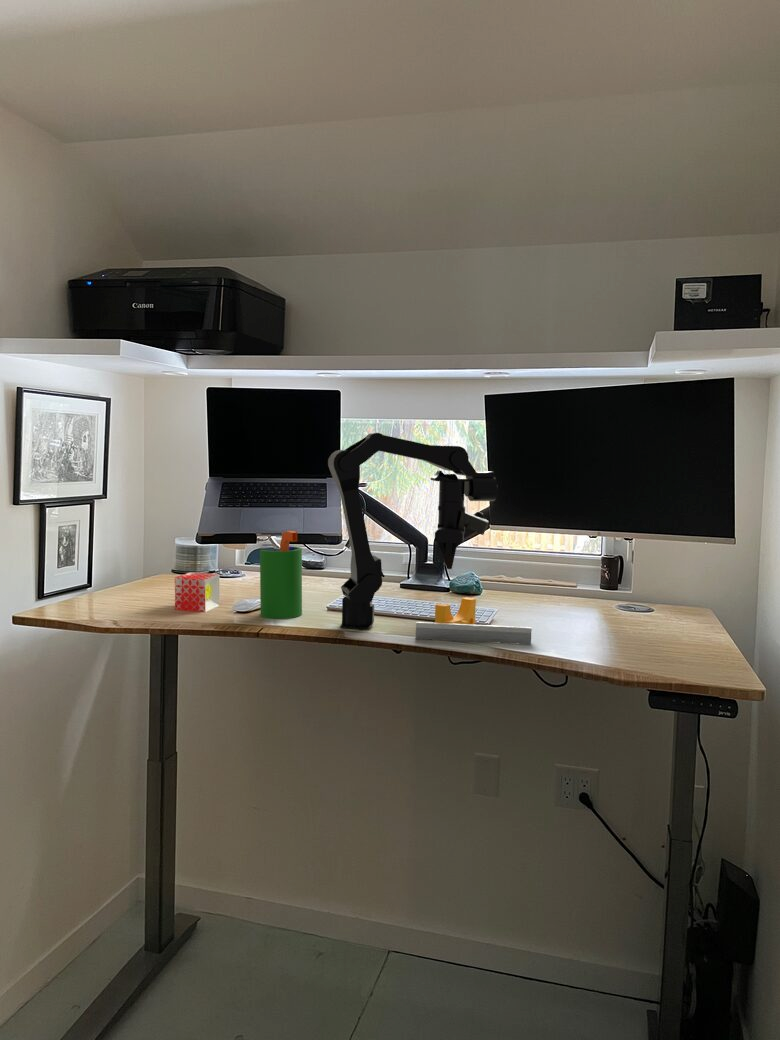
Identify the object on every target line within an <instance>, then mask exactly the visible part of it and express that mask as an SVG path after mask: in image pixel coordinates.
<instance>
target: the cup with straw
mask: <svg viewBox="0 0 780 1040" xmlns="http://www.w3.org/2000/svg"><path fill="white" fill-rule="evenodd" d="M291 542H298V532H297V531H294V530H287V531H284V532H283V533H282V535H281V539H280V546H279V550H265V549H259V572H260V573H259V574H260V575H259V578H260V582H259V583H260V584H259V586H260V587H259V589H260V591H259V592H260V593H259V594H260V596H259V597H260V603H259V604H260V617H262V618H266V619H277V620H278V619H281V620H282V619H291V618H292V619H293V618H296V617H300V616H302V615H303V548H302V547H300V546H294V545H290V543H291Z"/></svg>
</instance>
